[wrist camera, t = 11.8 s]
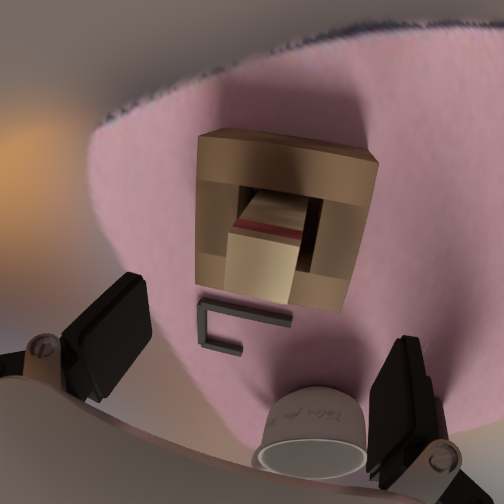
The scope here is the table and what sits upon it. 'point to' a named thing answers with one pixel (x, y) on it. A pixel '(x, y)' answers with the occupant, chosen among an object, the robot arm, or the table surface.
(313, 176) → the wooden square socket block
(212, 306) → the dark gray angular bracket
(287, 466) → the teacup
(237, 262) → the red striped block
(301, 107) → the table surface
